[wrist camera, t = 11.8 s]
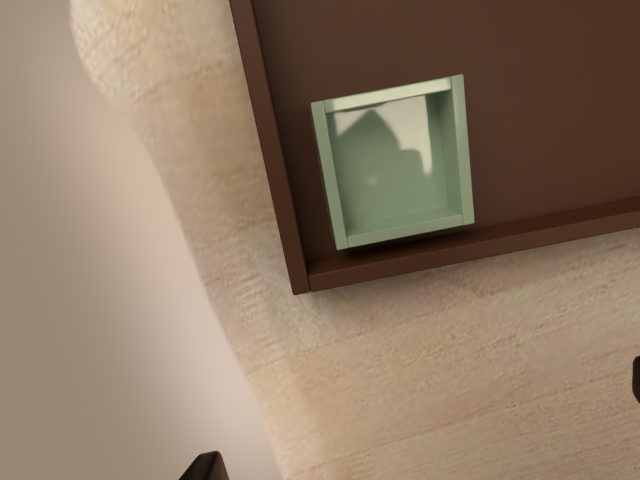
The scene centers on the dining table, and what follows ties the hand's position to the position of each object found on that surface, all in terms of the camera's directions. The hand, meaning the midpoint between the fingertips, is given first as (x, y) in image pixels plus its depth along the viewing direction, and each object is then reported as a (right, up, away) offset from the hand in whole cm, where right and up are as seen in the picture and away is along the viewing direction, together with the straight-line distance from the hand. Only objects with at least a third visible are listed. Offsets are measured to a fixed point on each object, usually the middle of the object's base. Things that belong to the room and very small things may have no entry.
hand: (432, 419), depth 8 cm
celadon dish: (+1, +7, +10) cm, 12 cm away
